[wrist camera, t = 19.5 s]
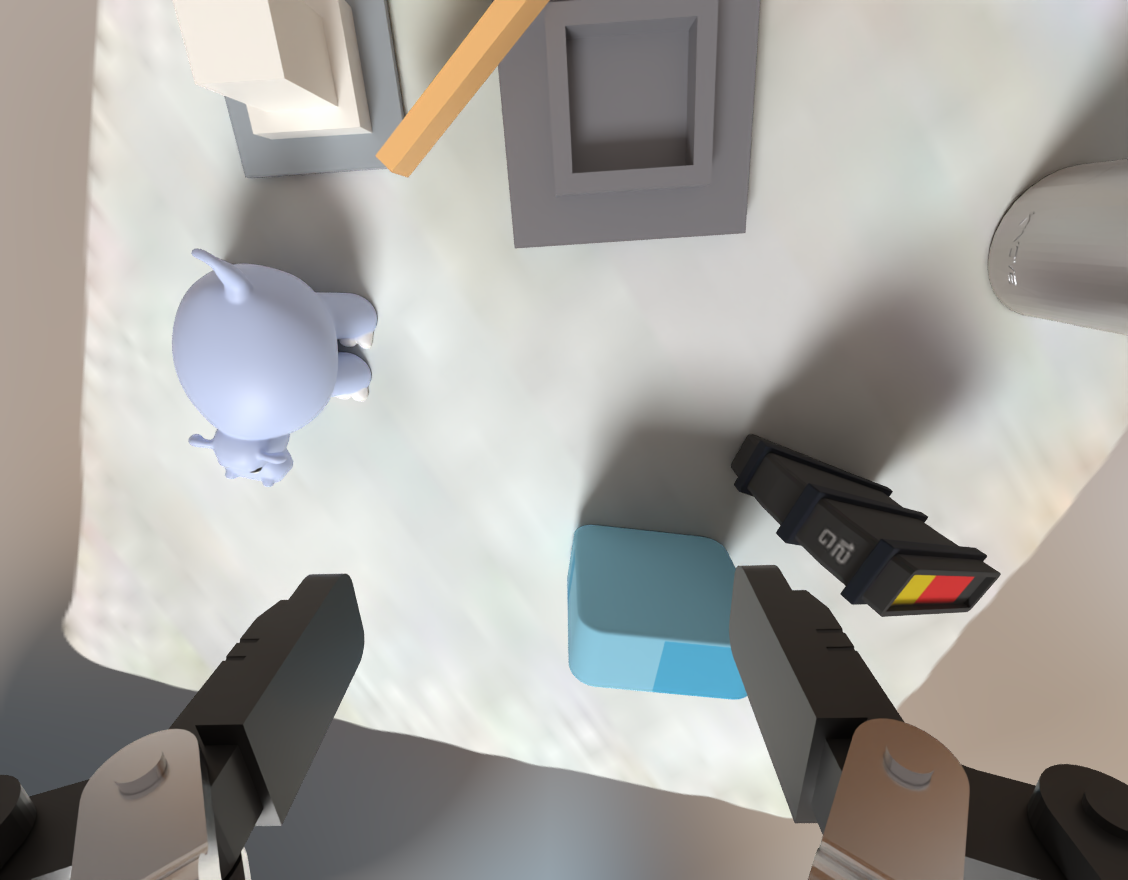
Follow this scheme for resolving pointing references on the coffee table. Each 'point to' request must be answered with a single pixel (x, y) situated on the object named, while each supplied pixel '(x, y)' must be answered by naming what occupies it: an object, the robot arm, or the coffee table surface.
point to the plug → (280, 63)
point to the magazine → (862, 534)
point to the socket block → (630, 120)
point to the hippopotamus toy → (265, 360)
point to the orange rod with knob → (457, 82)
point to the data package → (651, 612)
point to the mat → (339, 149)
